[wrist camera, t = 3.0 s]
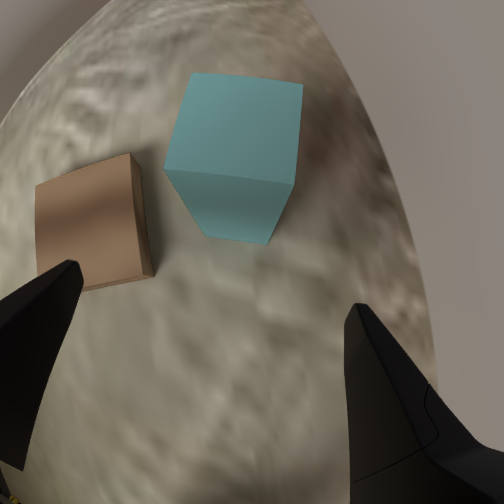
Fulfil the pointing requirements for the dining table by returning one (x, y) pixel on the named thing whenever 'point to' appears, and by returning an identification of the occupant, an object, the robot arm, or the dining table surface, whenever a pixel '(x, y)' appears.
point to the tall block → (236, 153)
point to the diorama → (14, 500)
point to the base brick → (95, 223)
